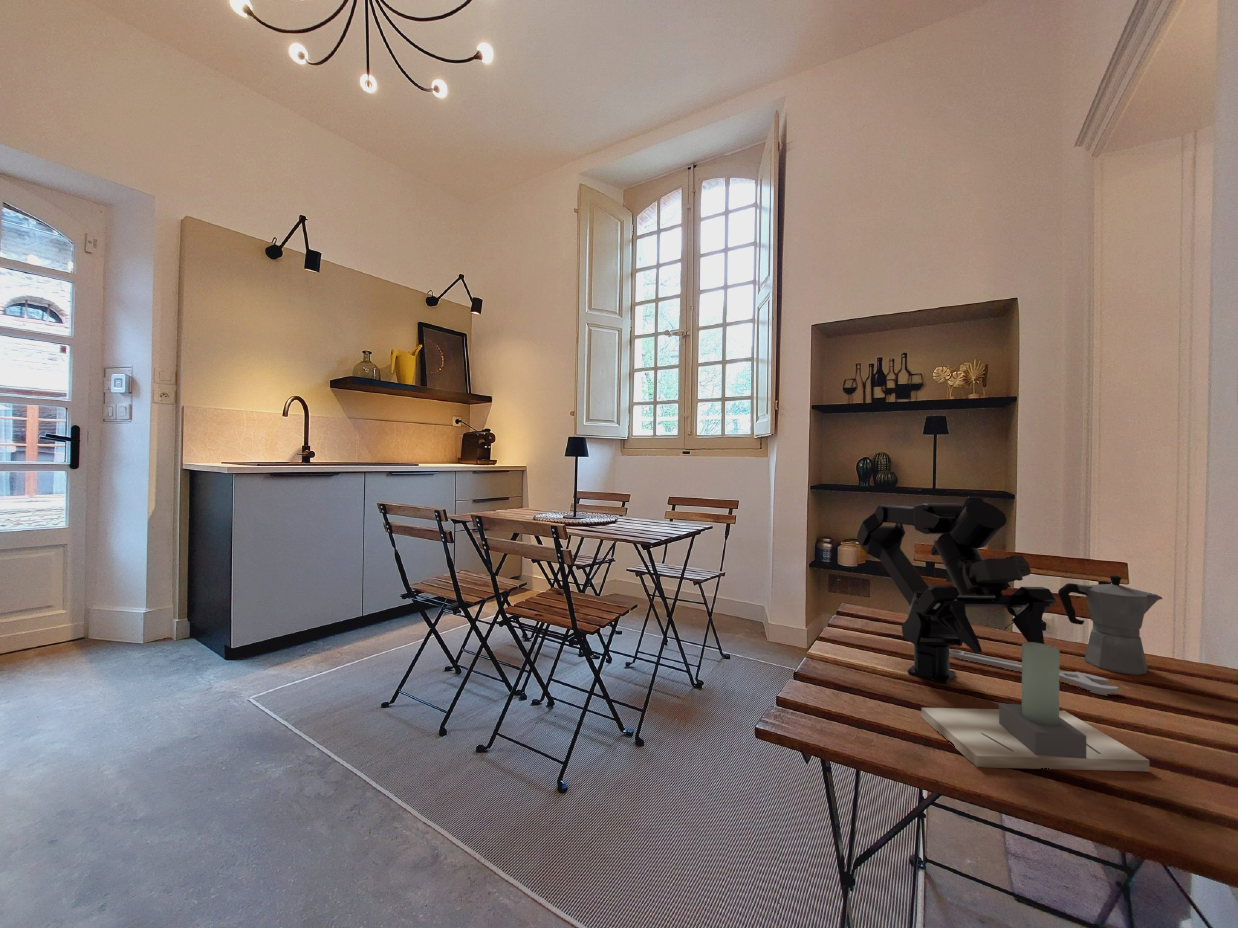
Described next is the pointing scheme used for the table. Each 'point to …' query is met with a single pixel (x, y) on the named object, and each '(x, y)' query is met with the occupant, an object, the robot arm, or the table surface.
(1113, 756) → the birch board
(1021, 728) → the block
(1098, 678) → the adjustable wrench
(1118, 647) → the coffeepot
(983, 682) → the table surface
